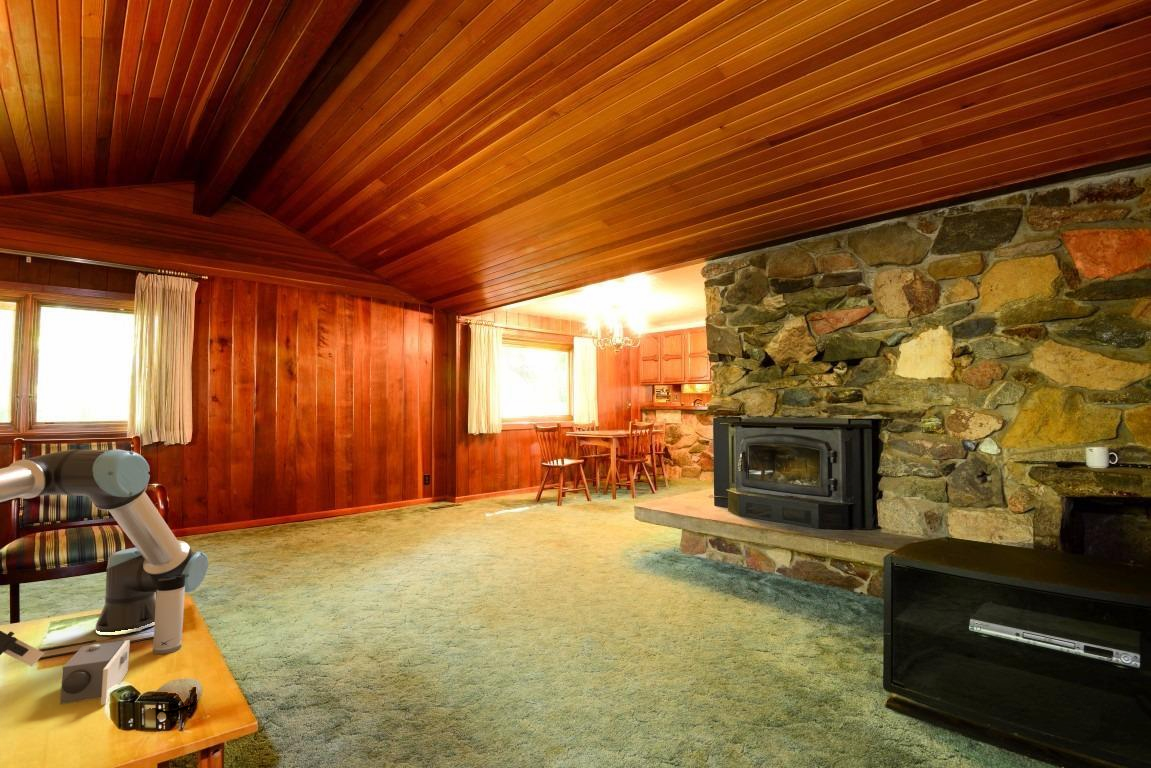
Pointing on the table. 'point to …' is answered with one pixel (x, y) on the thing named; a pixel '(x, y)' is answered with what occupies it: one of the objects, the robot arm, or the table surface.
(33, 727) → the table surface
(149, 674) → the table surface
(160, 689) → the sea urchin shell
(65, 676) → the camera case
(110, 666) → the side door
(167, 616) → the travel mug
